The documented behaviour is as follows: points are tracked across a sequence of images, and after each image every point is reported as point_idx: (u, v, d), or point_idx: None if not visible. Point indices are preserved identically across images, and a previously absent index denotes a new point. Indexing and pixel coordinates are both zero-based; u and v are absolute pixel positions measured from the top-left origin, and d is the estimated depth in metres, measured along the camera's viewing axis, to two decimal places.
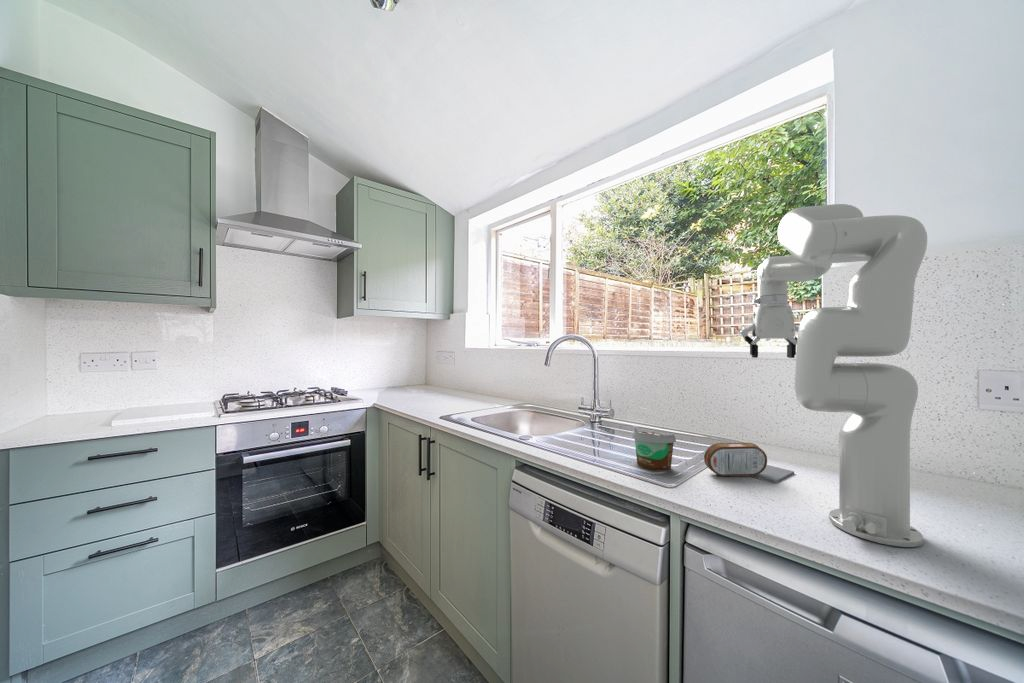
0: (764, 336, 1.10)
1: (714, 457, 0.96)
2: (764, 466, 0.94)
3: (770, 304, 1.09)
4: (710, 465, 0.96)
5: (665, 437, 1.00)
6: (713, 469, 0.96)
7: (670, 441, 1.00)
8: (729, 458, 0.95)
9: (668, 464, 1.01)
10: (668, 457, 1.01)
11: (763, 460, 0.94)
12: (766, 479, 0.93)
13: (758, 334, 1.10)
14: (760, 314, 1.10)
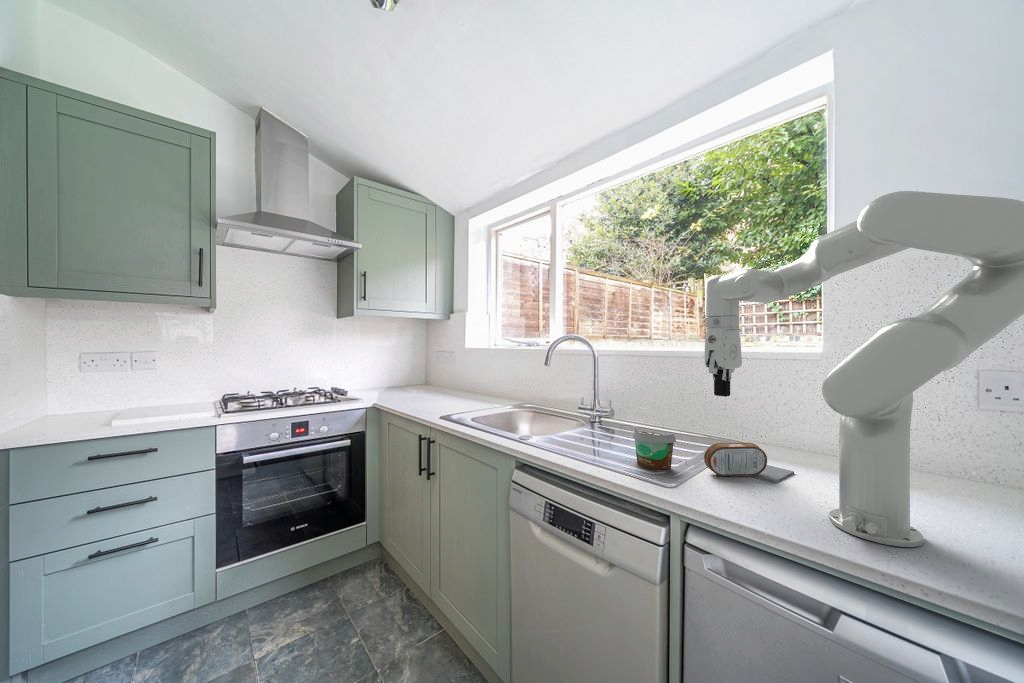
0: (727, 366, 0.89)
1: (714, 457, 0.96)
2: (764, 466, 0.94)
3: (732, 327, 0.89)
4: (710, 465, 0.96)
5: (665, 437, 1.00)
6: (713, 469, 0.96)
7: (670, 441, 1.00)
8: (729, 458, 0.95)
9: (668, 464, 1.01)
10: (668, 457, 1.01)
11: (763, 460, 0.94)
12: (766, 479, 0.93)
13: (723, 364, 0.88)
14: (723, 339, 0.88)
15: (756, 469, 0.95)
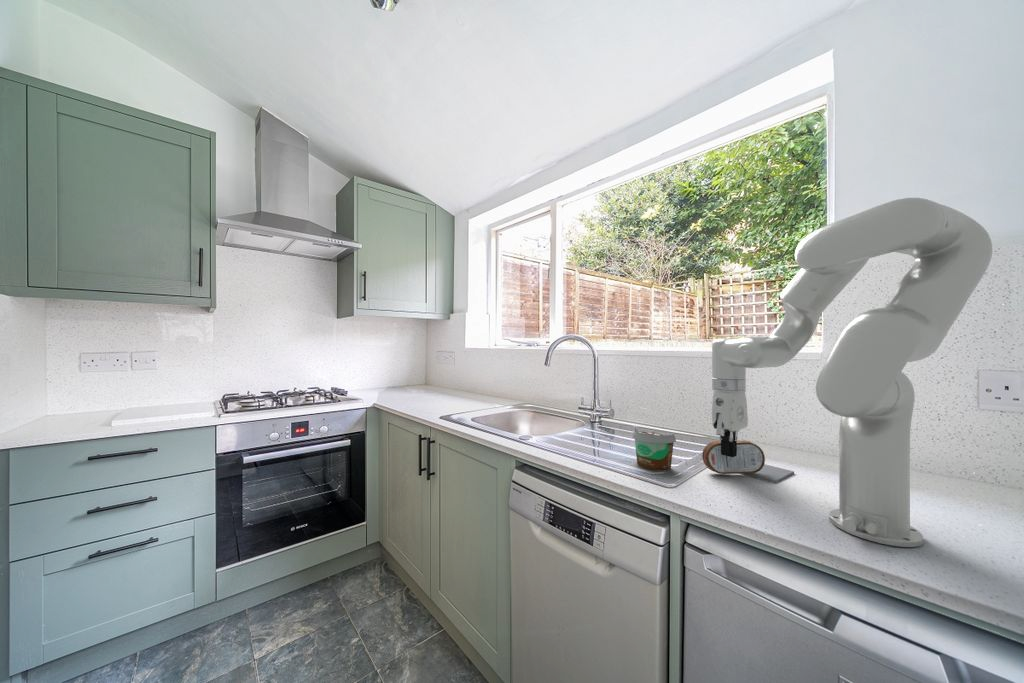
0: (734, 429, 0.90)
1: (712, 454, 0.97)
2: (762, 463, 0.95)
3: (739, 390, 0.91)
4: (708, 463, 0.97)
5: (665, 437, 1.00)
6: (712, 467, 0.96)
7: (670, 441, 1.00)
8: None
9: (668, 464, 1.01)
10: (668, 457, 1.01)
11: (760, 457, 0.95)
12: (766, 479, 0.93)
13: (730, 427, 0.90)
14: (731, 402, 0.90)
15: (755, 466, 0.95)
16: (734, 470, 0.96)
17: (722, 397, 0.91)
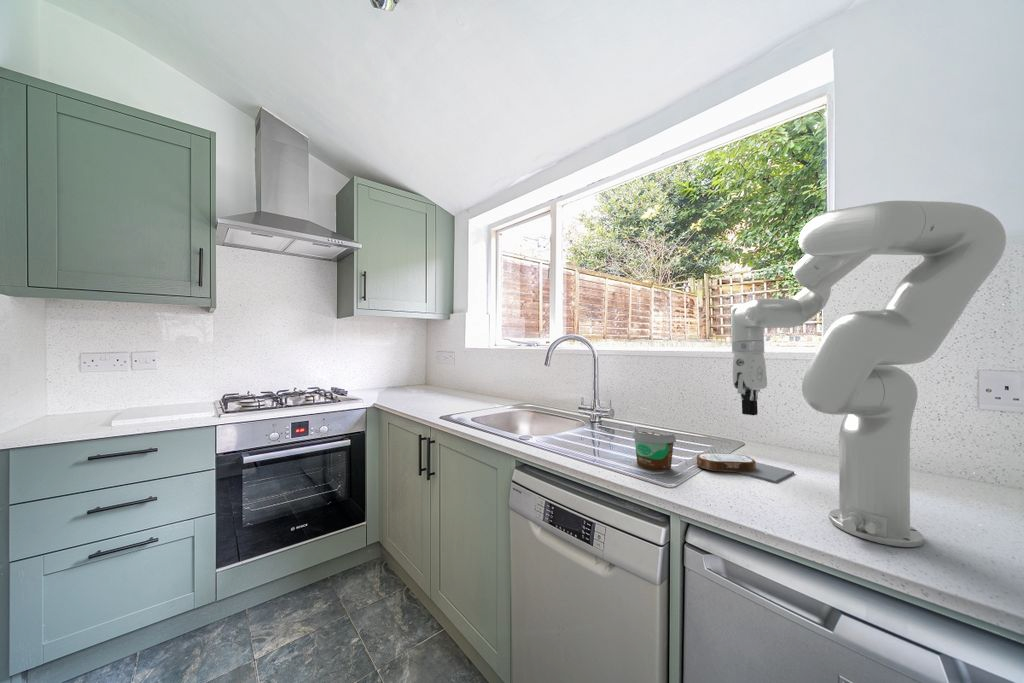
0: (754, 387, 0.96)
1: (702, 456, 1.04)
2: (753, 460, 1.00)
3: (758, 351, 0.97)
4: (701, 458, 1.02)
5: (665, 437, 1.00)
6: (705, 459, 1.01)
7: (670, 441, 1.00)
8: (716, 456, 1.03)
9: (668, 464, 1.01)
10: (668, 457, 1.01)
11: (749, 458, 1.02)
12: (766, 479, 0.93)
13: (751, 385, 0.95)
14: (751, 362, 0.96)
15: (747, 461, 0.99)
16: (728, 461, 0.99)
17: (742, 357, 0.97)
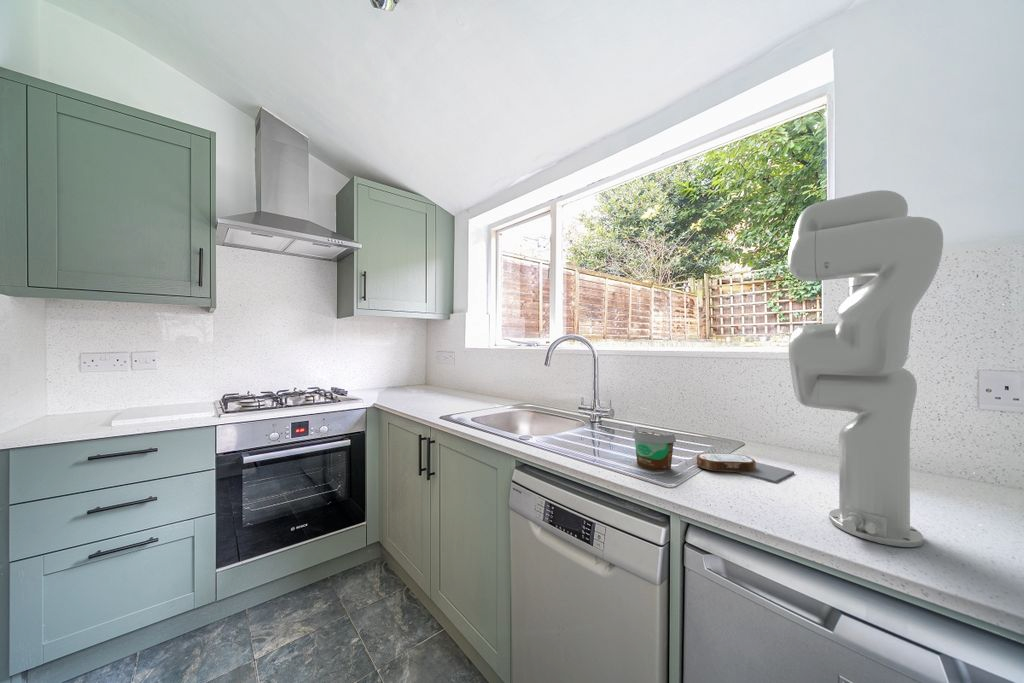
0: None
1: (702, 456, 1.04)
2: (753, 460, 1.00)
3: None
4: (701, 458, 1.02)
5: (665, 437, 1.00)
6: (705, 459, 1.01)
7: (670, 441, 1.00)
8: (716, 456, 1.03)
9: (668, 464, 1.01)
10: (668, 457, 1.01)
11: (749, 458, 1.02)
12: (766, 479, 0.93)
13: None
14: None
15: (747, 461, 0.99)
16: (728, 461, 0.99)
17: None
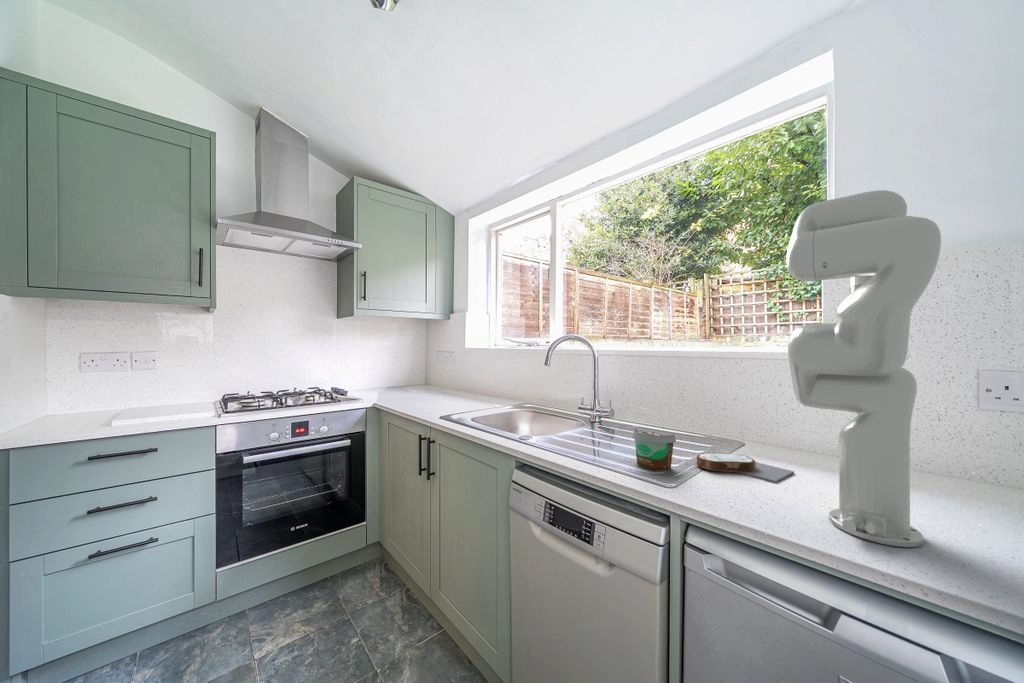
0: None
1: (702, 456, 1.04)
2: (753, 460, 1.00)
3: None
4: (701, 458, 1.02)
5: (665, 437, 1.00)
6: (705, 459, 1.01)
7: (670, 441, 1.00)
8: (716, 456, 1.03)
9: (667, 464, 1.01)
10: (668, 457, 1.01)
11: (749, 458, 1.02)
12: (766, 479, 0.93)
13: None
14: None
15: (747, 461, 0.99)
16: (728, 461, 0.99)
17: None
